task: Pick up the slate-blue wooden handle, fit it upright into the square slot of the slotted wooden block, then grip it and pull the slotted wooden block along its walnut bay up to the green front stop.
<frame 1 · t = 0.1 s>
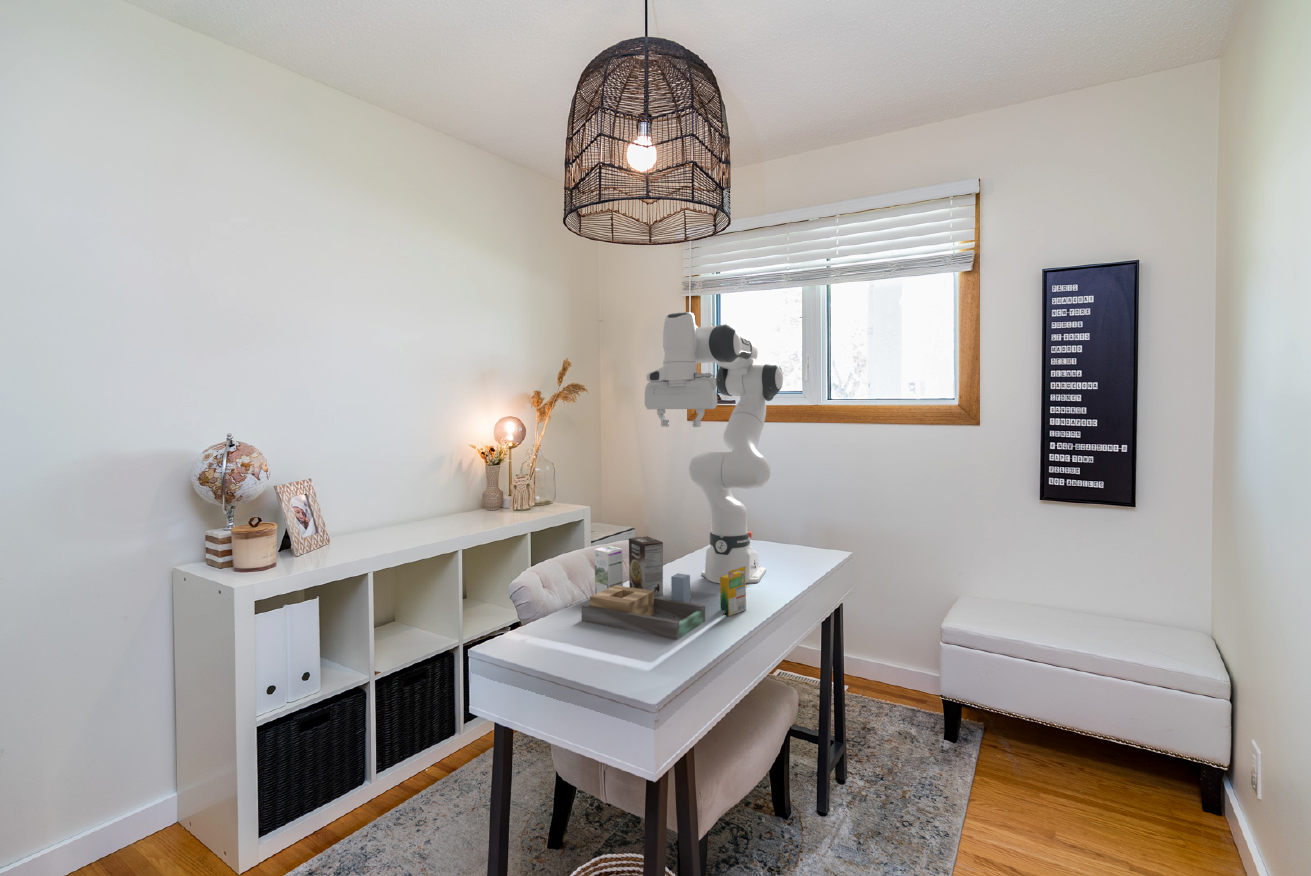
hand: (680, 426, 169), 48 cm above the table, tool pointing down, fingers open, 8 cm apart
crayon box: (733, 612, 165), on the table
handle peg: (681, 614, 164), on the table
coffee box: (646, 597, 180), on the table
bay: (643, 625, 156), on the table
syrup box: (609, 601, 177), on the table
slotted wooden block: (622, 605, 159), point 4 cm above the table, slide at 0.0 cm
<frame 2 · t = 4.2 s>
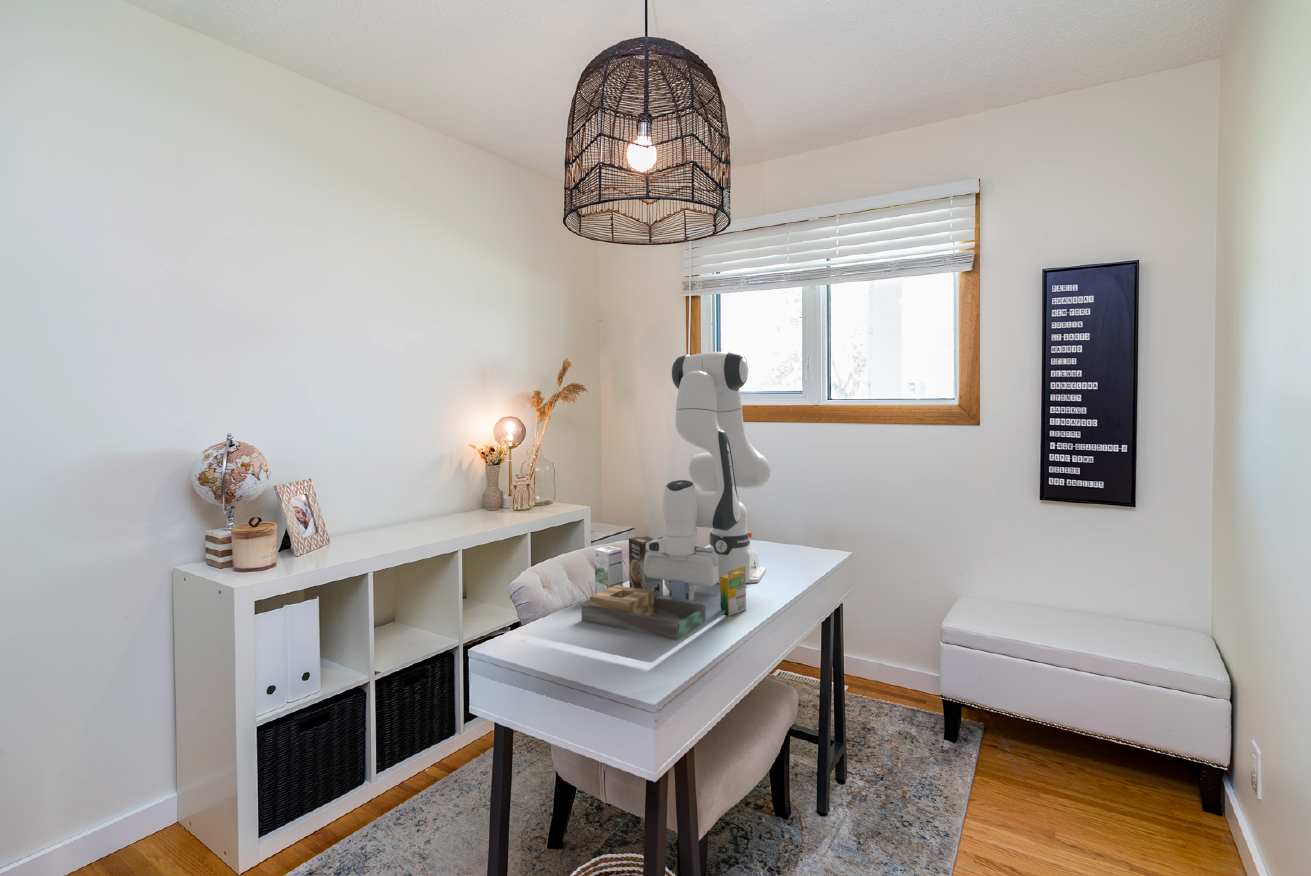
hand: (680, 598, 164), 4 cm above the table, tool pointing down, fingers closed on handle peg, 3 cm apart
handle peg: (681, 614, 164), on the table, touching gripper
everything else where it was.
when the fingers open (9 cm above the table, at t = 10.1 s): handle peg drops 2 cm, resting on slotted wooden block.
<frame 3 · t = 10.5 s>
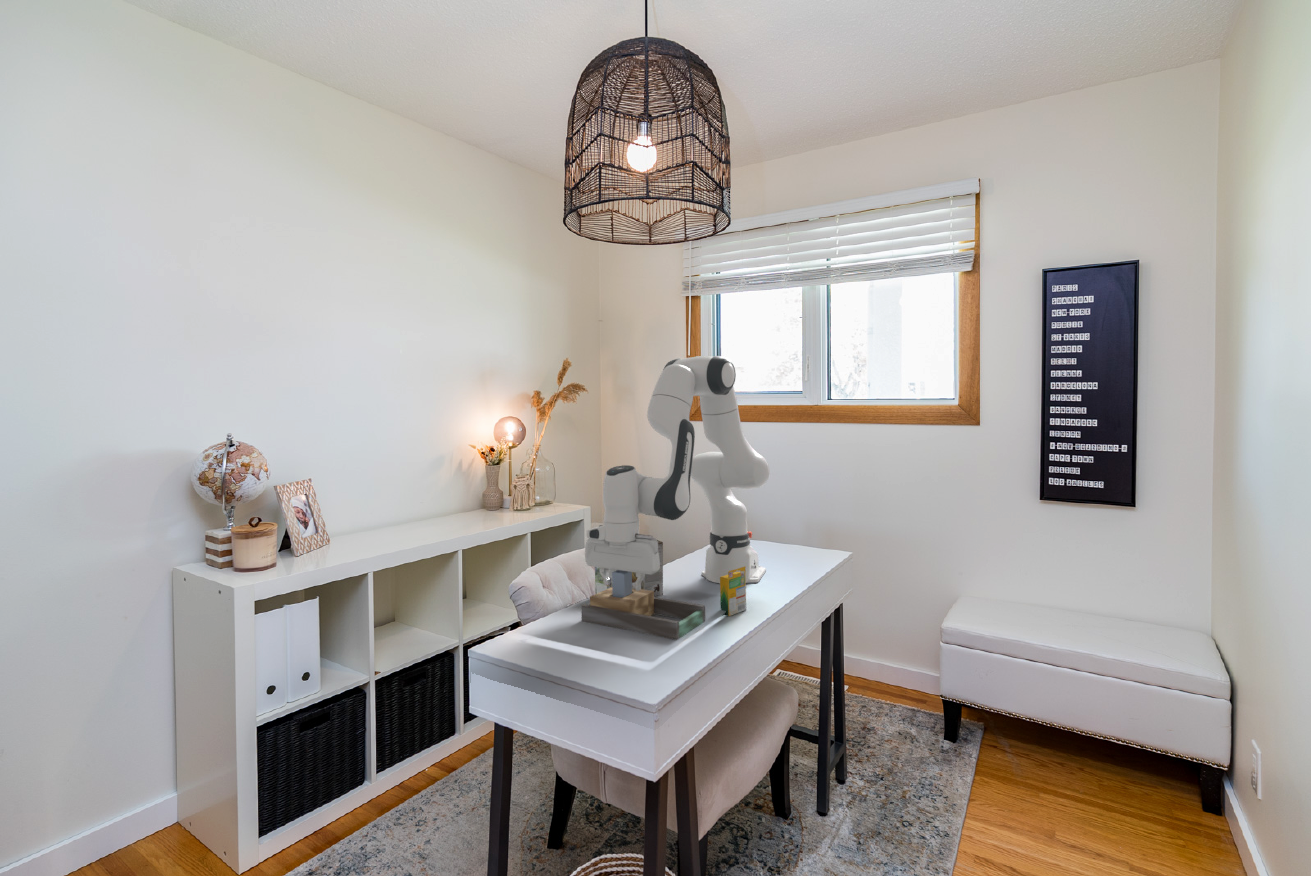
hand: (622, 587, 158), 9 cm above the table, tool pointing down, fingers open, 7 cm apart
handle peg: (622, 611, 159), point 3 cm above the table, touching slotted wooden block
slotted wooden block: (622, 605, 159), point 4 cm above the table, slide at 0.0 cm, touching handle peg
everything else where it was.
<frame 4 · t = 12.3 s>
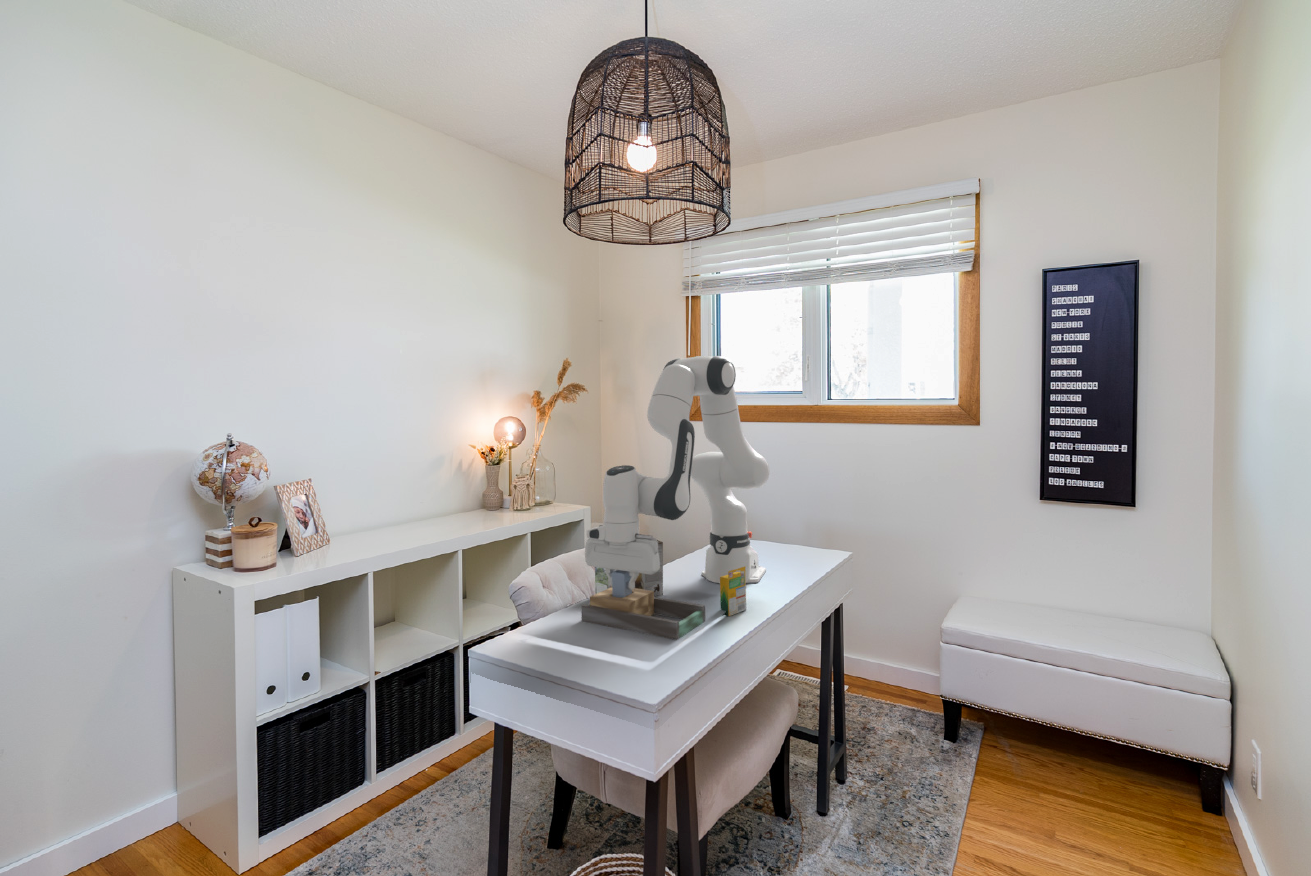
hand: (622, 587, 158), 9 cm above the table, tool pointing down, fingers closed on handle peg, 3 cm apart
handle peg: (622, 611, 159), point 3 cm above the table, touching slotted wooden block, gripper
everything else where it was.
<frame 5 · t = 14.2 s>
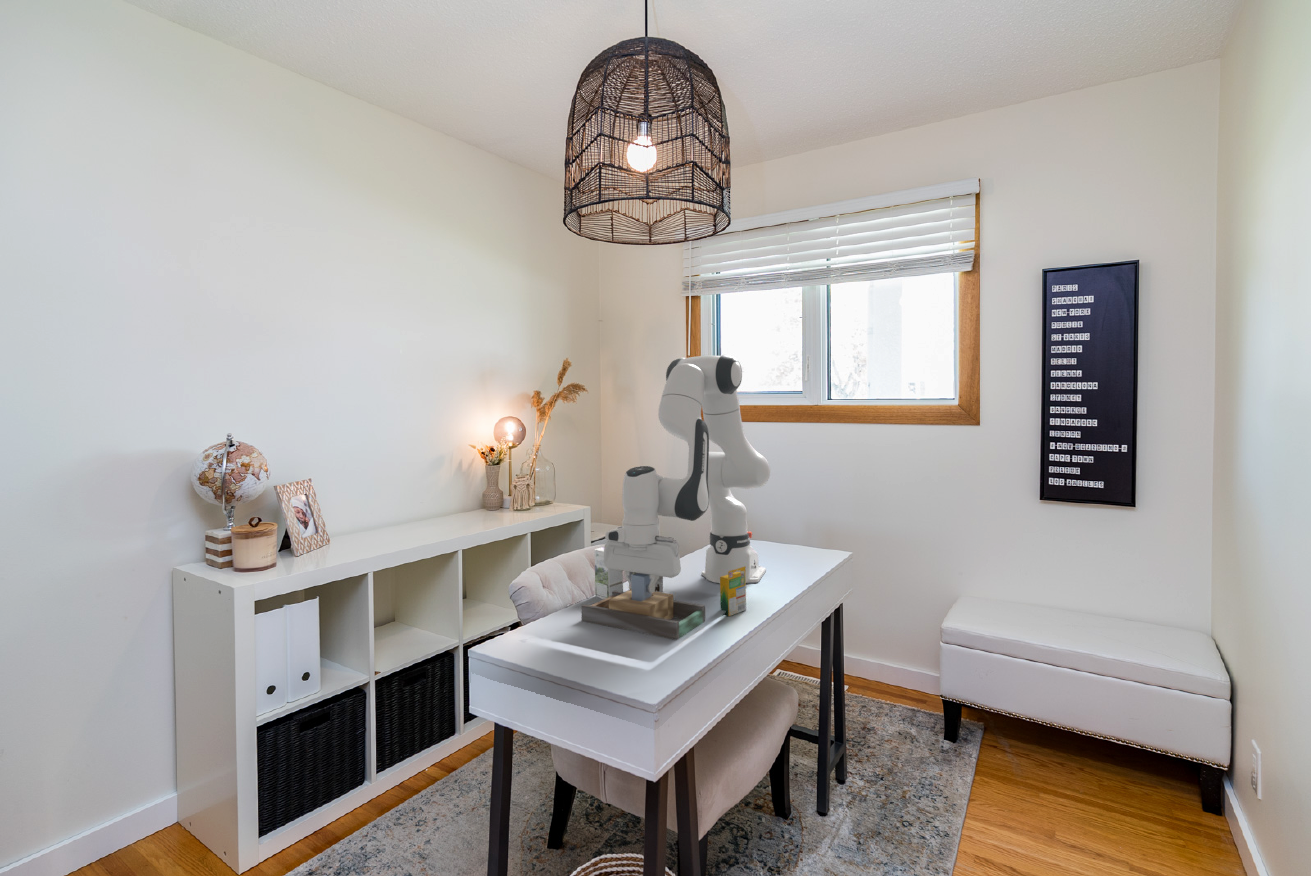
hand: (641, 590, 156), 9 cm above the table, tool pointing down, fingers closed on handle peg, 3 cm apart
handle peg: (641, 614, 156), point 3 cm above the table, touching slotted wooden block, gripper
slotted wooden block: (641, 608, 156), point 4 cm above the table, slide at 5.6 cm, touching handle peg
everything else where it was.
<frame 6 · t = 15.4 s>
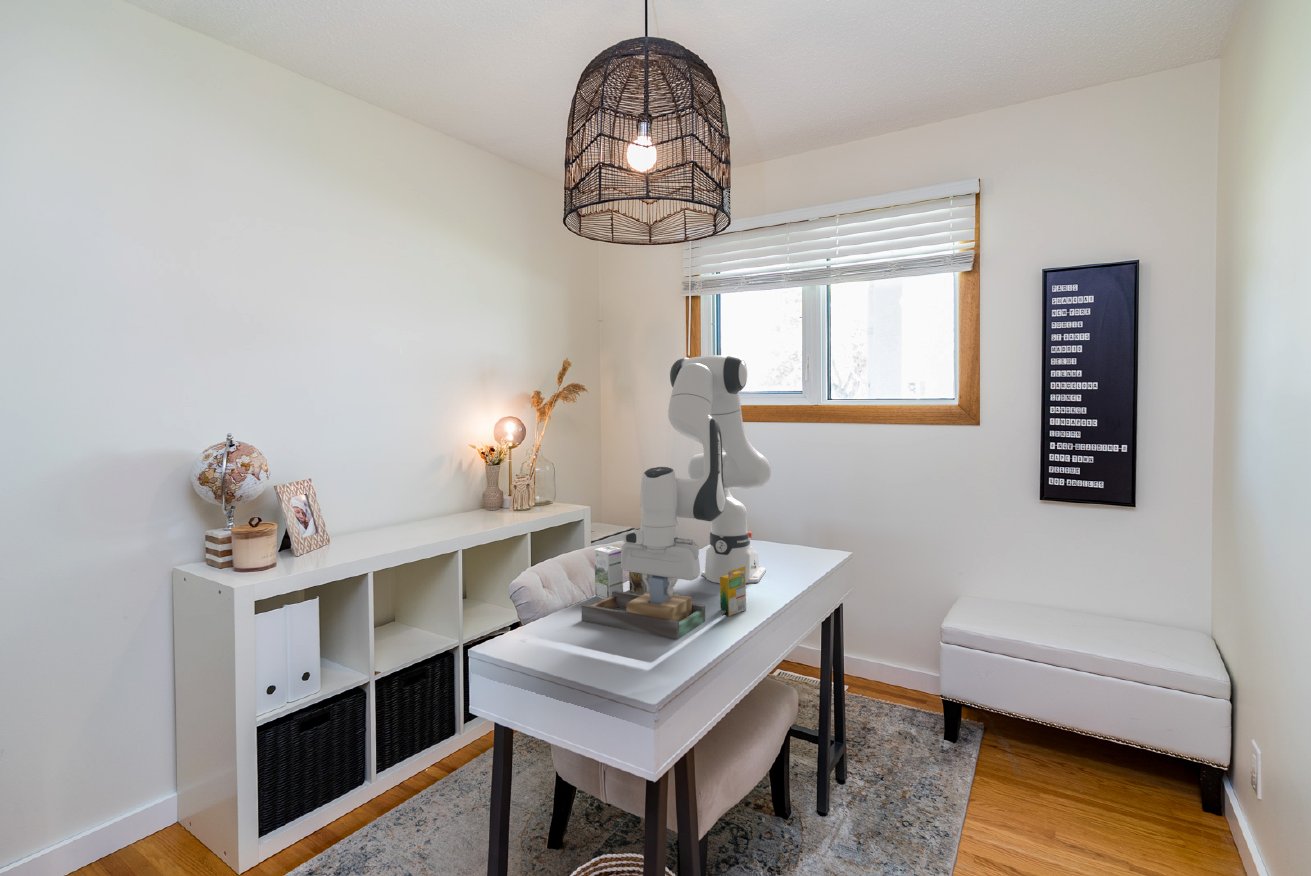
hand: (659, 593, 153), 9 cm above the table, tool pointing down, fingers closed on handle peg, 3 cm apart
handle peg: (659, 618, 153), point 3 cm above the table, touching slotted wooden block, gripper
slotted wooden block: (659, 612, 153), point 4 cm above the table, slide at 10.7 cm, touching handle peg
everything else where it was.
when the fingers open (9 cm above the table, at t = 16.4 s): handle peg stays where it is, resting on slotted wooden block.
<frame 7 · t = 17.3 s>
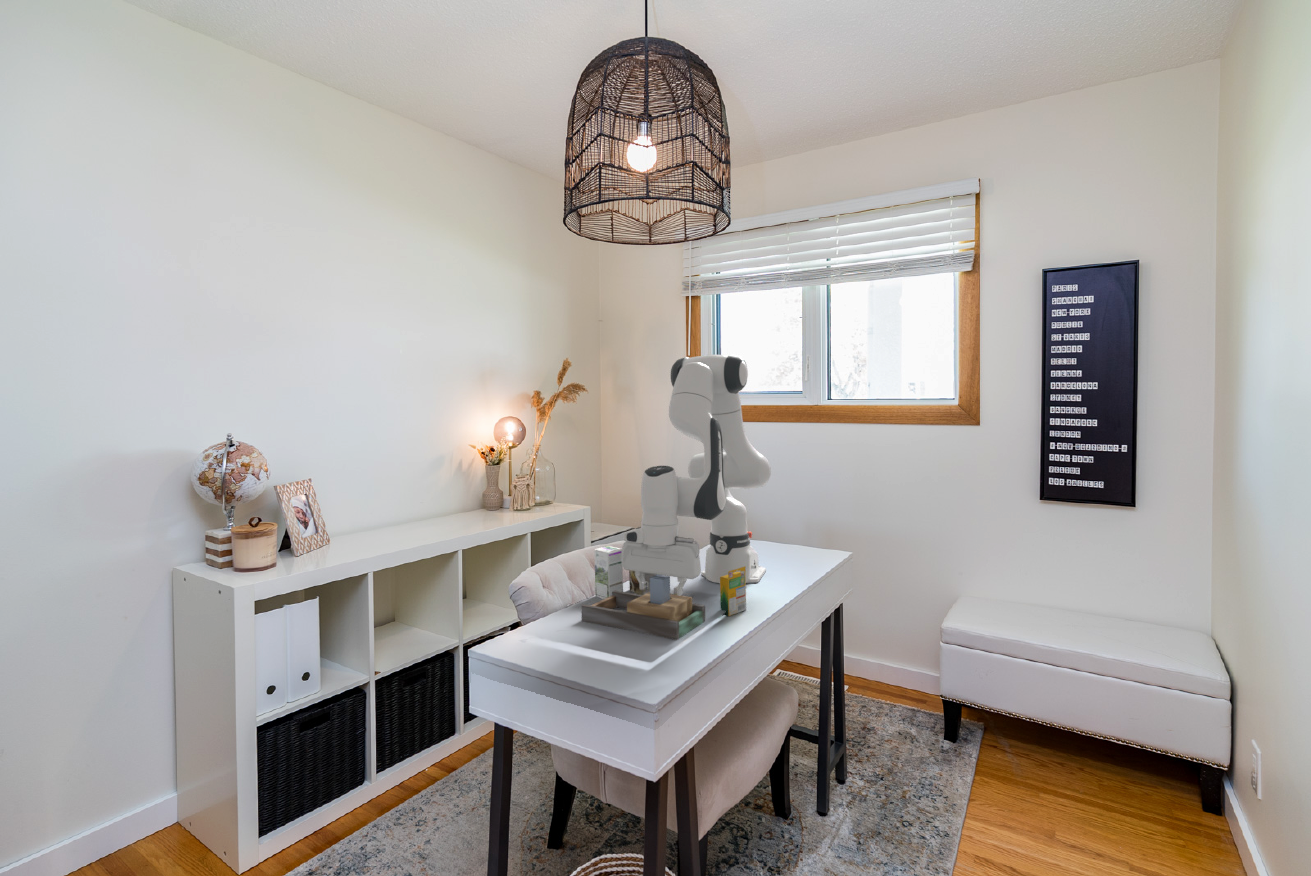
hand: (660, 592, 153), 9 cm above the table, tool pointing down, fingers open, 8 cm apart
handle peg: (660, 618, 153), point 3 cm above the table, touching slotted wooden block
everything else where it was.
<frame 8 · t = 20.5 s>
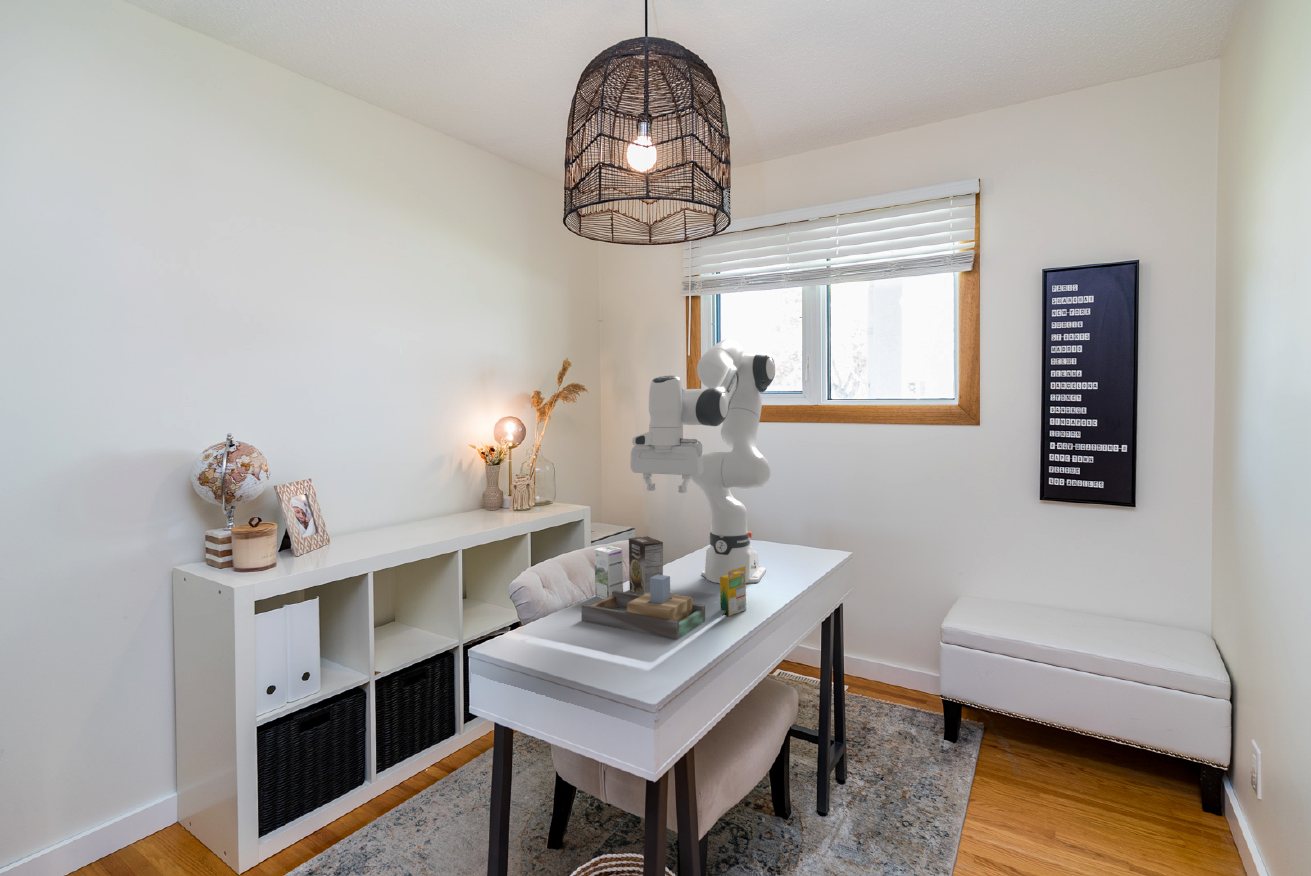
hand: (666, 491, 167), 31 cm above the table, tool pointing down, fingers open, 8 cm apart
nothing on the table moved.
at the end: slotted wooden block slide at 10.8 cm; handle peg 0.1 cm off-centre on the slotted wooden block, point 1.4 cm above the slotted wooden block's base; handle peg tilted 0° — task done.
